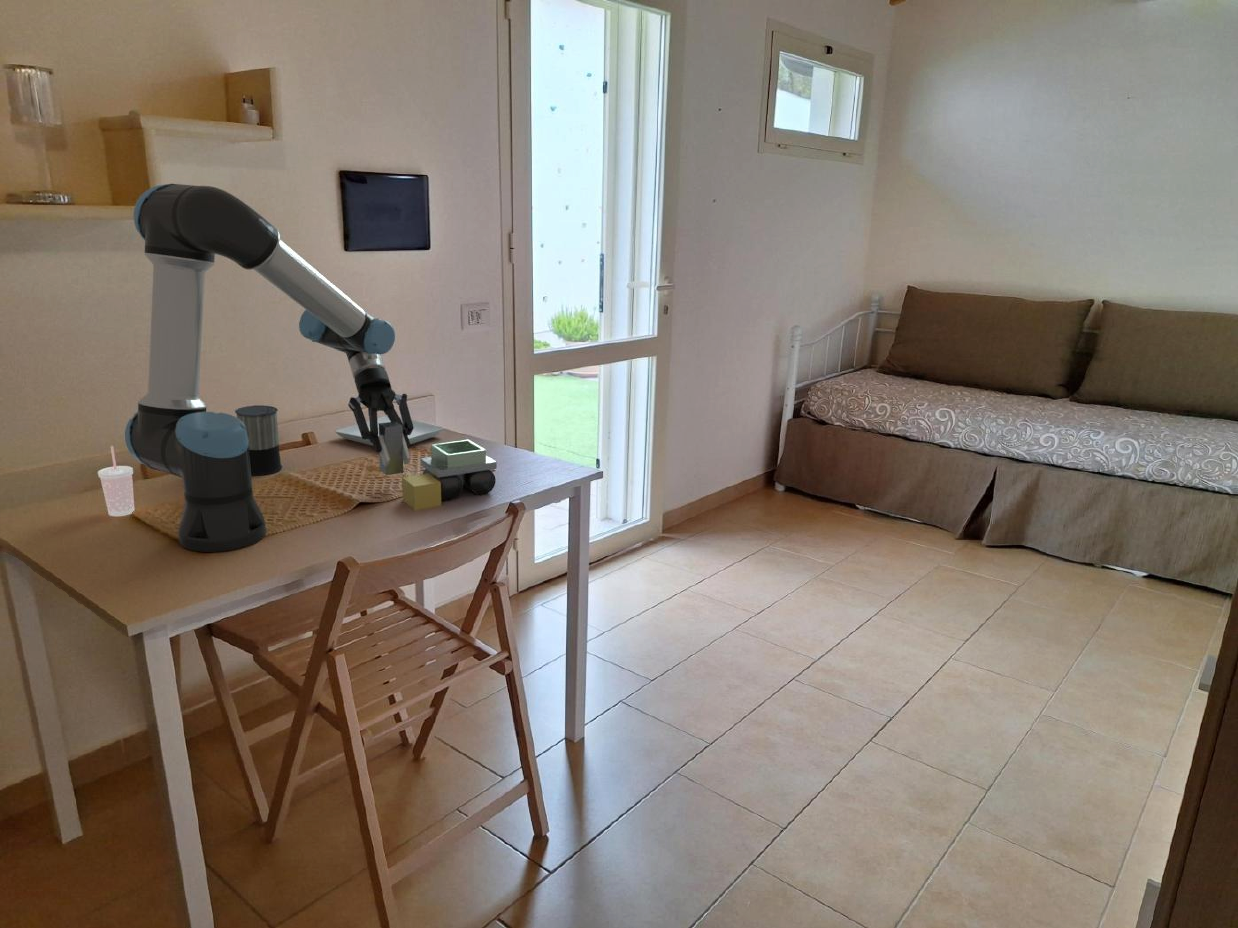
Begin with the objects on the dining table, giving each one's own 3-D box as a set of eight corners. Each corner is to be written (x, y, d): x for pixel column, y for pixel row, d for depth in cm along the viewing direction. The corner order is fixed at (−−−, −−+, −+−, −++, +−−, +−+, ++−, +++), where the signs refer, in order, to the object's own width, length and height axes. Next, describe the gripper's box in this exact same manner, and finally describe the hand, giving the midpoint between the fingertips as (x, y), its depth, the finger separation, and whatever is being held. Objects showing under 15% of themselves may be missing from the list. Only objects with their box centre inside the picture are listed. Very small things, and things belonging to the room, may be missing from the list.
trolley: (438, 503, 181) (437, 457, 177) (421, 489, 188) (420, 445, 185) (496, 493, 188) (496, 449, 185) (477, 480, 196) (477, 438, 193)
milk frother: (291, 468, 199) (286, 409, 194) (233, 486, 185) (226, 422, 181) (251, 458, 205) (246, 400, 201) (193, 474, 192) (186, 412, 188)
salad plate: (390, 456, 213) (390, 443, 212) (333, 441, 223) (332, 429, 222) (446, 438, 230) (446, 426, 229) (391, 425, 240) (390, 414, 239)
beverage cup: (101, 510, 168) (91, 445, 164) (135, 504, 172) (126, 440, 168) (107, 519, 164) (96, 452, 160) (142, 513, 168) (132, 447, 163)
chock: (414, 510, 176) (414, 486, 175) (402, 500, 182) (401, 477, 180) (441, 506, 180) (440, 482, 178) (428, 496, 185) (427, 473, 183)
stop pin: (386, 475, 184) (384, 427, 181) (379, 470, 187) (378, 423, 184) (403, 472, 187) (402, 425, 183) (397, 468, 190) (396, 421, 187)
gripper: (336, 368, 184) (362, 458, 176) (409, 364, 193) (438, 449, 185) (330, 386, 189) (355, 475, 181) (402, 382, 199) (429, 465, 191)
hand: (397, 462), depth 183 cm, fingers closed on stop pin, 4 cm apart
